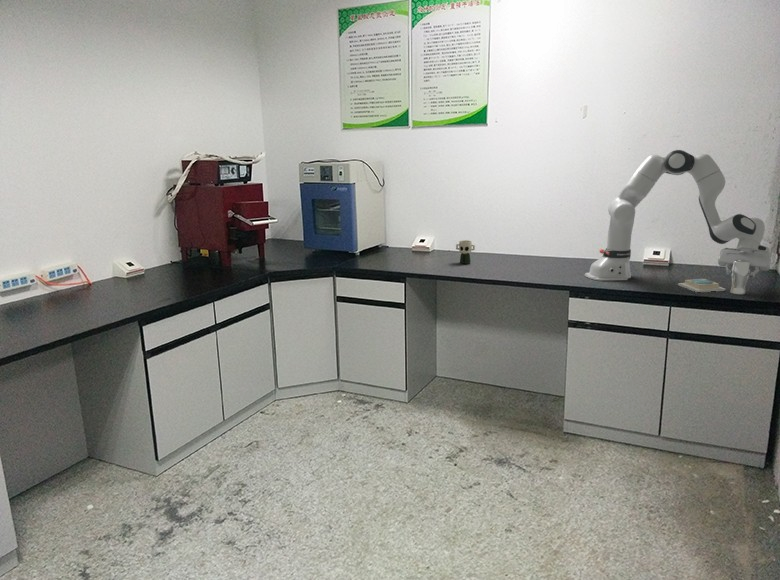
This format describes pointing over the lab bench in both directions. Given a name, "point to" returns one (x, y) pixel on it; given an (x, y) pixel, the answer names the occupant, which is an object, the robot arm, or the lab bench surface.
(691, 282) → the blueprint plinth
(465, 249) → the character mug
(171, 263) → the lab bench surface
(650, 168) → the robot arm
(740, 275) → the beer glass
